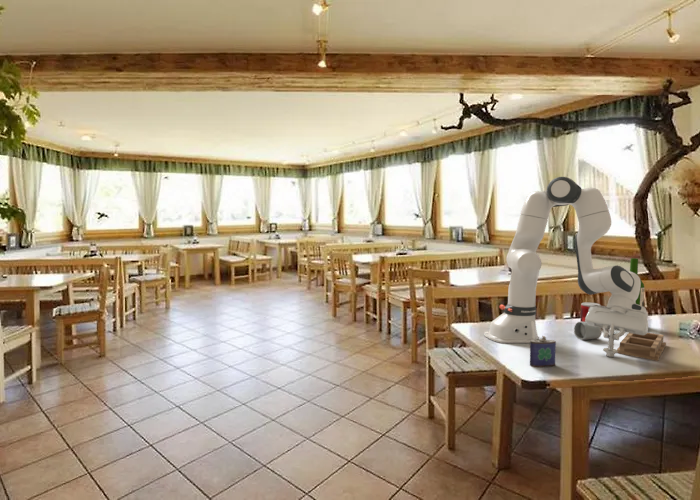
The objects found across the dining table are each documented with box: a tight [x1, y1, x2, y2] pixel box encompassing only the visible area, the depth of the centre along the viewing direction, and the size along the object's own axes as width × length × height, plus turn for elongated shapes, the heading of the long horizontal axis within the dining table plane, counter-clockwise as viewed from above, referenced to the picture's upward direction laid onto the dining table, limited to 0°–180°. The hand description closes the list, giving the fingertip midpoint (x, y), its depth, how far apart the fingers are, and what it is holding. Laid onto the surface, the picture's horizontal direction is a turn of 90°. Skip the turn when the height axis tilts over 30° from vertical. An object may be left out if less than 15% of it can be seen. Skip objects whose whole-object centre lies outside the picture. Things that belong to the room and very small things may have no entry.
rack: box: [616, 332, 667, 362], centre depth 164 cm, size 24×13×4 cm, turn 137°
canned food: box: [580, 301, 601, 322], centre depth 197 cm, size 8×8×11 cm
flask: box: [529, 335, 557, 368], centre depth 146 cm, size 9×3×11 cm, turn 95°
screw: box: [602, 322, 619, 358], centre depth 155 cm, size 13×5×5 cm
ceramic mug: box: [573, 321, 603, 341], centre depth 179 cm, size 11×8×8 cm
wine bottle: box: [629, 258, 645, 307], centre depth 196 cm, size 9×9×32 cm
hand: (610, 338), depth 154 cm, fingers closed on screw, 2 cm apart
